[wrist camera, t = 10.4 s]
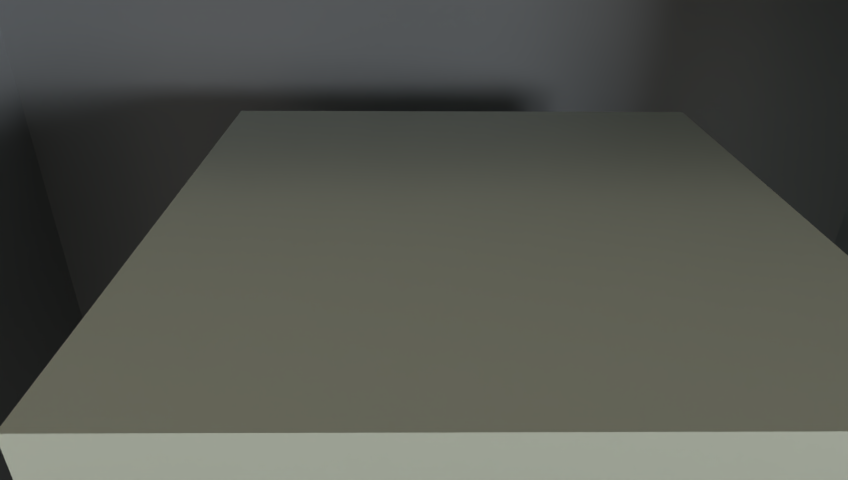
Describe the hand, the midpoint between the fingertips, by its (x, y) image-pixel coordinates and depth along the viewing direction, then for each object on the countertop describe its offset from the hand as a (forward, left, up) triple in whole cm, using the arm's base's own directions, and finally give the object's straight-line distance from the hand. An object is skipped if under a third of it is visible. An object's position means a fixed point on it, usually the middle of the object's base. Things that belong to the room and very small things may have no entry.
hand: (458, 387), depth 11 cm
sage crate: (0, 0, -1) cm, 1 cm away
